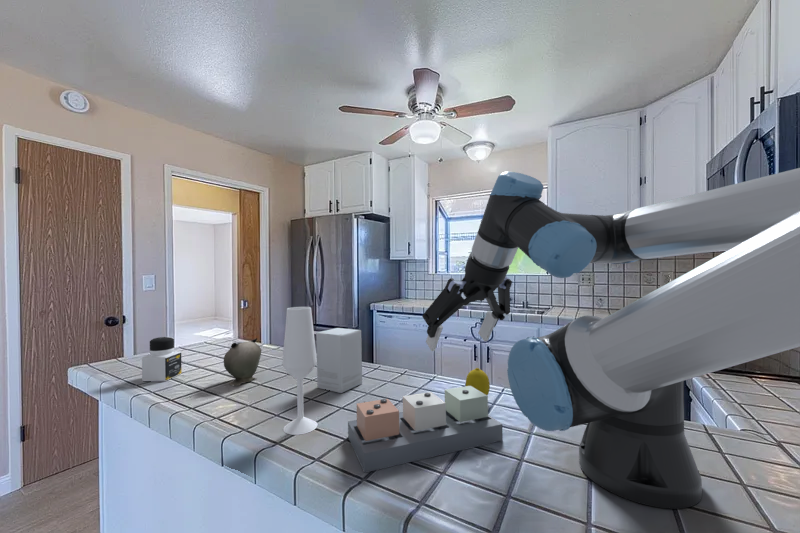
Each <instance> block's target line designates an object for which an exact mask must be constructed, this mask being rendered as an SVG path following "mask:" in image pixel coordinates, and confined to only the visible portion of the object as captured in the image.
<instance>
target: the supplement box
mask: <svg viewBox="0 0 800 533" xmlns="http://www.w3.org/2000/svg"><path fill="white" fill-rule="evenodd" d="M315 335H316V336H315V346H316V357H317V363H316V377H317V378H316V381H317V382H316V384H317V386H316V387H318V389H321V390H325V389H326V390H327V391H329V390H330V391H331V392H334V393H339V394H342V393H344V392H347V391H349V390H351V389H353V388H355V387H357V386H360V385H362V384H363V361H362V360H363V358H362V354H363V353H362V350H363V349H362V330H361V329H354V328H353V329H352V328H343V327H334V328H331V329H326V330H322V331H317V332H316V333H315ZM326 390H325V391H326Z"/></svg>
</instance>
